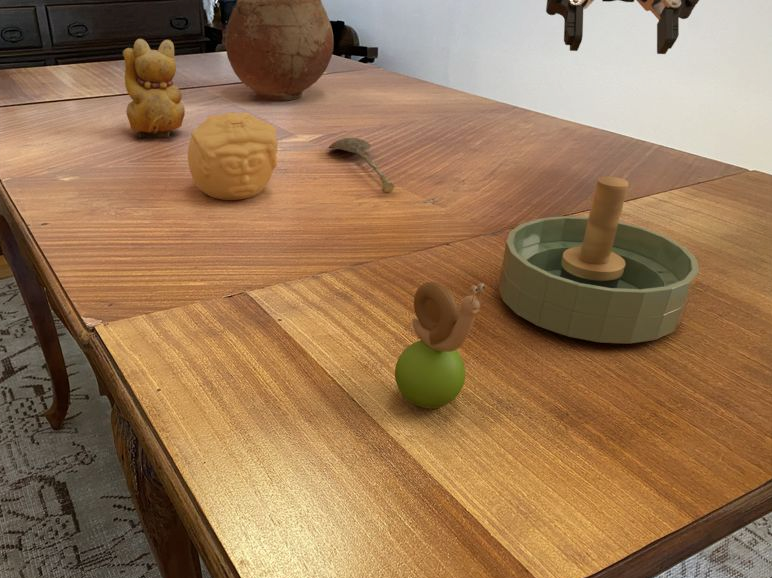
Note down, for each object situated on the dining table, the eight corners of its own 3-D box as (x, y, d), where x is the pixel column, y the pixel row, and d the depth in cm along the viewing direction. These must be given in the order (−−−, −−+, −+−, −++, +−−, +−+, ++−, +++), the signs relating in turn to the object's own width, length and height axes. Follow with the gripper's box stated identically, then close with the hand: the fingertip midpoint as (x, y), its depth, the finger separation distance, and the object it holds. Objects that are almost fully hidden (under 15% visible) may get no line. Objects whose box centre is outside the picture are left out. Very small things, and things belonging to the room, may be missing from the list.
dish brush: (610, 274, 75) (637, 172, 69) (624, 300, 70) (655, 194, 64) (552, 270, 75) (574, 169, 70) (562, 296, 70) (586, 190, 64)
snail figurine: (432, 438, 53) (451, 296, 46) (378, 395, 57) (389, 260, 51) (483, 414, 55) (509, 276, 49) (428, 375, 60) (445, 244, 53)
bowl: (643, 270, 77) (658, 219, 74) (709, 354, 63) (731, 295, 60) (485, 264, 78) (494, 213, 75) (514, 346, 64) (526, 287, 61)
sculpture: (204, 212, 90) (198, 127, 85) (182, 183, 100) (175, 105, 94) (287, 201, 94) (287, 119, 88) (258, 174, 103) (256, 98, 98)
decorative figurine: (183, 126, 125) (176, 35, 117) (189, 139, 118) (182, 43, 110) (128, 130, 123) (116, 37, 115) (130, 143, 116) (119, 45, 108)
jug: (234, 83, 155) (228, -76, 139) (332, 85, 155) (337, -74, 139) (220, 107, 137) (211, -73, 121) (331, 110, 136) (337, -71, 120)
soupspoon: (362, 150, 116) (324, 155, 115) (362, 129, 114) (323, 134, 113) (410, 190, 98) (365, 196, 97) (411, 166, 96) (365, 172, 95)
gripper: (561, -120, 71) (556, 20, 68) (710, -119, 69) (712, 24, 66) (544, -61, 78) (538, 68, 75) (679, -59, 77) (679, 73, 73)
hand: (620, 47), depth 70 cm, fingers open, 8 cm apart
